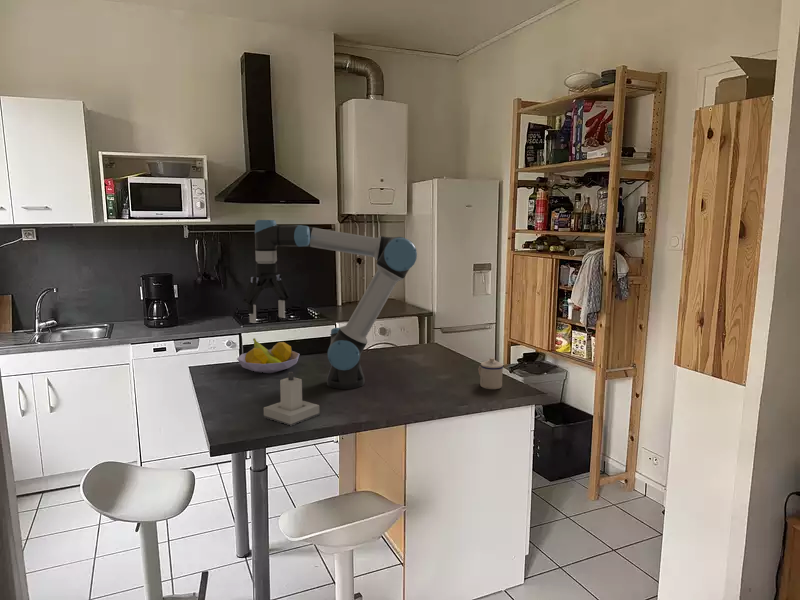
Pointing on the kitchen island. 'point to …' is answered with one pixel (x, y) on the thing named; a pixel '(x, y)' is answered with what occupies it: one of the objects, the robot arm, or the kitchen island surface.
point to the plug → (291, 392)
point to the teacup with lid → (491, 374)
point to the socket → (291, 413)
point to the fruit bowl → (268, 358)
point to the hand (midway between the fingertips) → (267, 319)
